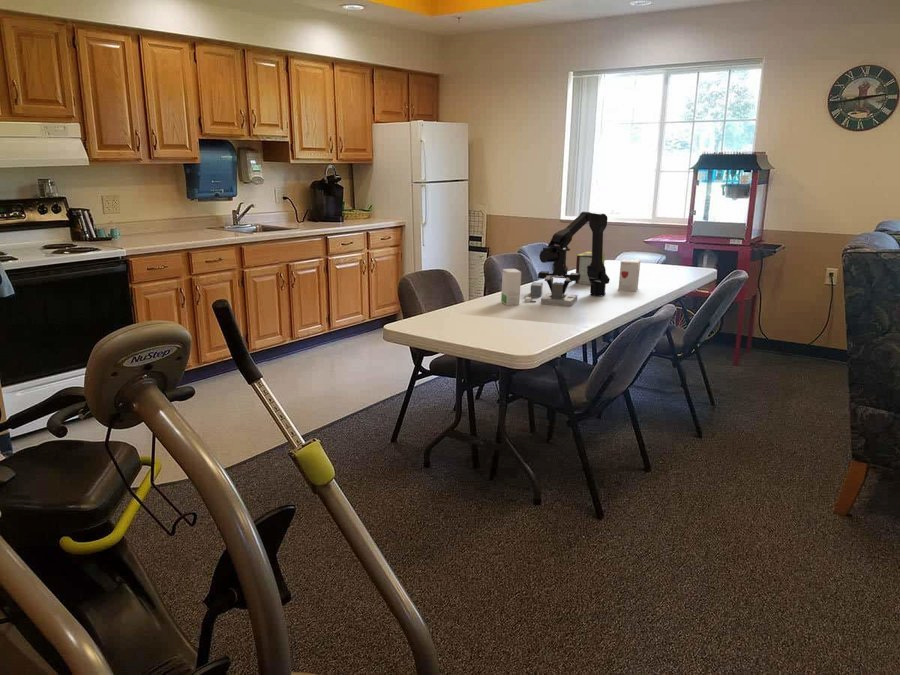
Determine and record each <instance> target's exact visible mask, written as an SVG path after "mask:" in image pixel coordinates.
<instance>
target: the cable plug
mask: <svg viewBox="0 0 900 675" xmlns="http://www.w3.org/2000/svg"><path fill="white" fill-rule="evenodd" d="M524 302H525V303H526V302H527V303H537V300H532V297H531V296H530V297H529V296H526V297H524Z"/></svg>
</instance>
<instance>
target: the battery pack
mask: <svg viewBox="0 0 900 675" xmlns="http://www.w3.org/2000/svg"><path fill="white" fill-rule="evenodd" d="M543 284H544V283H543V282H537V281H536V282H535V281H534V282H533V281H532V282H531V284H530V297H531V298H533V297H534V298H542V295H543V286H544V285H543Z"/></svg>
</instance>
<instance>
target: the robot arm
mask: <svg viewBox="0 0 900 675" xmlns="http://www.w3.org/2000/svg"><path fill="white" fill-rule="evenodd" d="M587 223H588V224H589V226H588V227H589V228H590V230H591V232H592V235H591V236H592V237H591V238H592V239H591V240H592V241H591V252H592V262H591V264H590V265H588V266H587V274H588V277H589V281H590V282H592V285H590V287H589V288H590V289H589V291H590V292H589V293H590V296H594V297H595V296H597V297H598V296H599V297H604V296H606V287H607V286H606V285H607V284H610V277H609V276H608V275H607V271H606V270H607V269H606V266H605V263H604V264H603V262H602V254H603V253H604V252H603V247H604V231H605V230H606V228H607V226H608V225H607V224H608V215H606V214H605V213H602V212H601V213H600V212H591V211H581V212H580V213H579V215H578V216H576V218H575V219H573V221H571V222H570V223H569V224H568V225H567V226H566V227H565V228H563V229H561V230H558V231H557V232H555V233H554V234H553V235H552V238H551V239H550V241H549V243H548V245H547V247H542V250H541V251H540V253H539V261H540V262H541V263H543V264H544V263H552V272H549V271H547V270H541V271H538V273H537V278H538V279H540V280H543V279H544V282H545V281H546V283H547V285H548V287H549V290H550V293H552V284H553V283H554V279H555V278H557V279H565V280H564V281H563V283H564V288H563V295H564V294H566V291H567V289H568V286H569V285H570V283H572V282H575V281H578V280H580V274H579V273H576V272H571V273H569V274H568V270H569V268H568V266H567V252H570V251H571V248H569V244H570V243H571V242H572V241H573V237H574V235H575V234H576V233H578V231H580V230H581V228H583V226H585V225H586V224H587Z"/></svg>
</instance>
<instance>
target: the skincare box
mask: <svg viewBox="0 0 900 675" xmlns="http://www.w3.org/2000/svg"><path fill="white" fill-rule="evenodd" d="M501 280H502V281H501V294H500V295H501V297H500V302H501V303H502V304H504V305H505V306H507V307H508V306H520V300H521V299H520V298H521V297H520V295H521V283H522V282H521V281H522V271H520V270H518V269H516V268H502V279H501Z"/></svg>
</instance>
